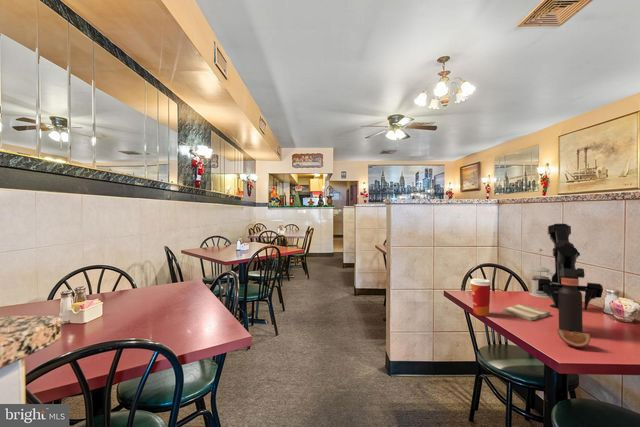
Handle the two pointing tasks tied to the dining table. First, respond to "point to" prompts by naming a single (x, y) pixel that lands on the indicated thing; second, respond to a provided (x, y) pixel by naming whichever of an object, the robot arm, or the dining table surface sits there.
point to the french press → (535, 288)
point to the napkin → (525, 312)
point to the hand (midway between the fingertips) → (570, 307)
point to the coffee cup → (480, 296)
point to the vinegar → (570, 306)
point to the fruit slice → (574, 338)
